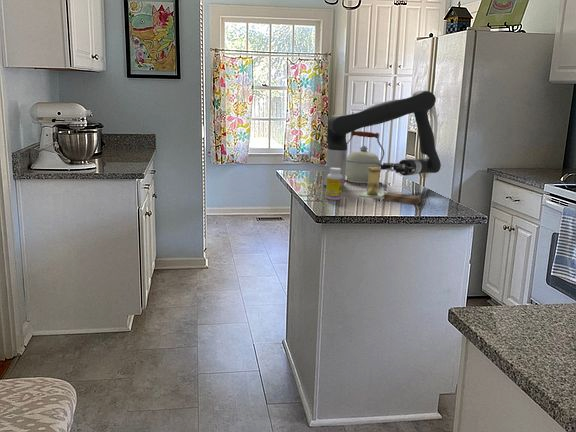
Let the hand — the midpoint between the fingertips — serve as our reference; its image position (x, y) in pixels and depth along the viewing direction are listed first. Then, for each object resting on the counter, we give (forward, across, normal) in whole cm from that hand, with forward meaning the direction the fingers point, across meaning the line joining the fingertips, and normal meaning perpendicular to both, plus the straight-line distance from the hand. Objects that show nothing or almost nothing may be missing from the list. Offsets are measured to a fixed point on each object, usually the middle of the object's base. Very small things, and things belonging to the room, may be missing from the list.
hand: (388, 168), depth 250 cm
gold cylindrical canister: (+10, 0, +11) cm, 15 cm away
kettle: (-16, -30, +12) cm, 35 cm away
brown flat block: (+7, +14, +11) cm, 19 cm away
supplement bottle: (+30, -5, +12) cm, 33 cm away
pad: (+10, 0, +12) cm, 15 cm away
